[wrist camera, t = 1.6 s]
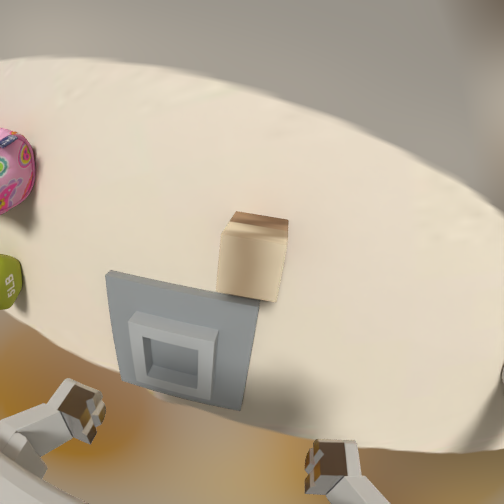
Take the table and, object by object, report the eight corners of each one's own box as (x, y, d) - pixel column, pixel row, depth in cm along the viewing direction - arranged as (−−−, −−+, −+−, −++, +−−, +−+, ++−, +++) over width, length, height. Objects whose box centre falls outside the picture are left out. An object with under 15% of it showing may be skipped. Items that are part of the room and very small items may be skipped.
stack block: (288, 219, 26) (287, 245, 21) (279, 267, 28) (276, 302, 22) (236, 211, 26) (220, 234, 21) (230, 258, 28) (215, 291, 23)
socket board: (260, 300, 29) (256, 319, 26) (241, 403, 36) (237, 423, 33) (110, 270, 30) (95, 284, 27) (125, 374, 37) (115, 390, 34)
